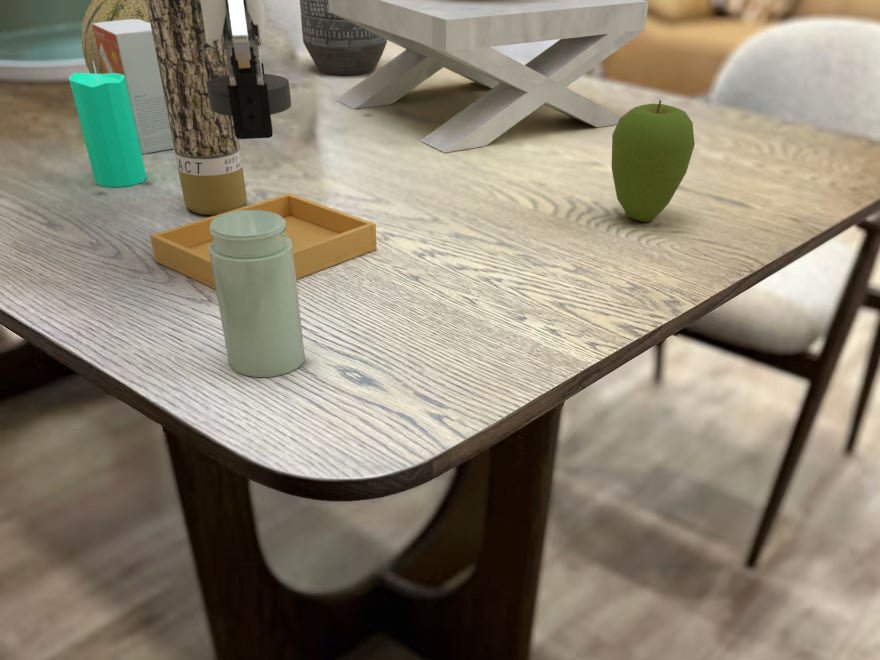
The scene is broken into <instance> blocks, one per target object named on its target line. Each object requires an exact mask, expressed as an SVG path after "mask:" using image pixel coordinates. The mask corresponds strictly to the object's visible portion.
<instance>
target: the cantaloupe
mask: <svg viewBox="0 0 880 660" xmlns="http://www.w3.org/2000/svg"><path fill="white" fill-rule="evenodd" d="M87 7H88V8H87V9H86V11H85V13H84V17H83V21H82V25H81V40H80V41H81V42H80V43H81V51H82V55H83V58H84V62H85V65H86V67H87V70H88V73H94V74H95V70H94V66H93V62H92V61H94V64H95V69H96V73H97V74H103V70H102V65H101V61H100V56H99V52H98V48H97V43H96V39H95V35H94V31H93V27H92V24H93V23H100V22H108V21H117V20H129V19H140V20H143V21H145V22H148V23H150V19H149V13H148V8H147V3H146V0H91V1H90V3H89V4H88V6H87Z"/></svg>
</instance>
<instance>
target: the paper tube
mask: <svg viewBox="0 0 880 660" xmlns="http://www.w3.org/2000/svg"><path fill="white" fill-rule="evenodd" d="M146 3H147V8H148V13H149V19H150V24H151V29H152V34H153V40H154V45H155V50H156V56H157V61H158V66H159V72H160V77H161V82H162V87H163V93H164V98H165V103H166V109H167V114H168V119H169V124H170V130H171V135H172V140H173V146H174V149H173V150H174V155H175V161H176V166H177V170H178V177H179V181H180V186H181V191H182V198H183V202H184V204H185V206H186V207H187V209H188V210H190V211H191V212H193V213H195V214H198V215H205V216H215V215H218V214H222V213H225V212H228V211H232V210H235V209H238V208H242V207H245V206H246V204H247V201H248V196H247V195H248V194H247V189H246V183H245V177H244V176H245V175H244V167H243V159H242V151H241V146H240V145H241V144H240V139H238V138H237V137H236V136H235V132H234V125H233V119H232V116H227V115H222V114H218V113H216V112H213V111H212V110H211V109H210V103H209V97H208V91H207V85H206V84H207V82H208V81H210V80H212V79H214V78H217V77H221V76H226V75H228V69H227V58H226V51H225V47H224V37H223V33H222V38H221V41H215V47H211V46H210V45H209V44H208V43H207V42H206V36H205V29H204V23H203V16H202V9H201V3H200V0H146Z"/></svg>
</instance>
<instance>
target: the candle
mask: <svg viewBox="0 0 880 660" xmlns="http://www.w3.org/2000/svg"><path fill="white" fill-rule="evenodd" d="M92 62H93V66H94V70H95V74H94V73H90V72H74V73H72V74H71V75H70V76H69V77H68V82H69V84H70V88H71V92H72V96H73V101H74V104H75V108H76V112H77V116H78V120H79V123H80V128H81V132H82V135H83V139H84V140H83V141H84V143H85V147H86V151H87V155H88V159H89V162H90V163H89V164H90V167H91V172H92V175H93V178H94V182H95V184H96V185H99V186H102V187H107V188H109V187H110V188H121V187H122V188H123V187H132V186H135V185H139V184H141V183H143V182H144V181H145V180H147V178H148V177H147V172H146V168H145V163H144V159H143V154H141V149H140V145H139V140H138V135H137V131H136V126H135V121H134V117H133V112H132V108H131V103H130V98H129V94H128V89H127V84H126V80H125V76H124V75H122V74H117V73H109V74H97V73H96V69H95V64H94V61H92Z"/></svg>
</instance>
